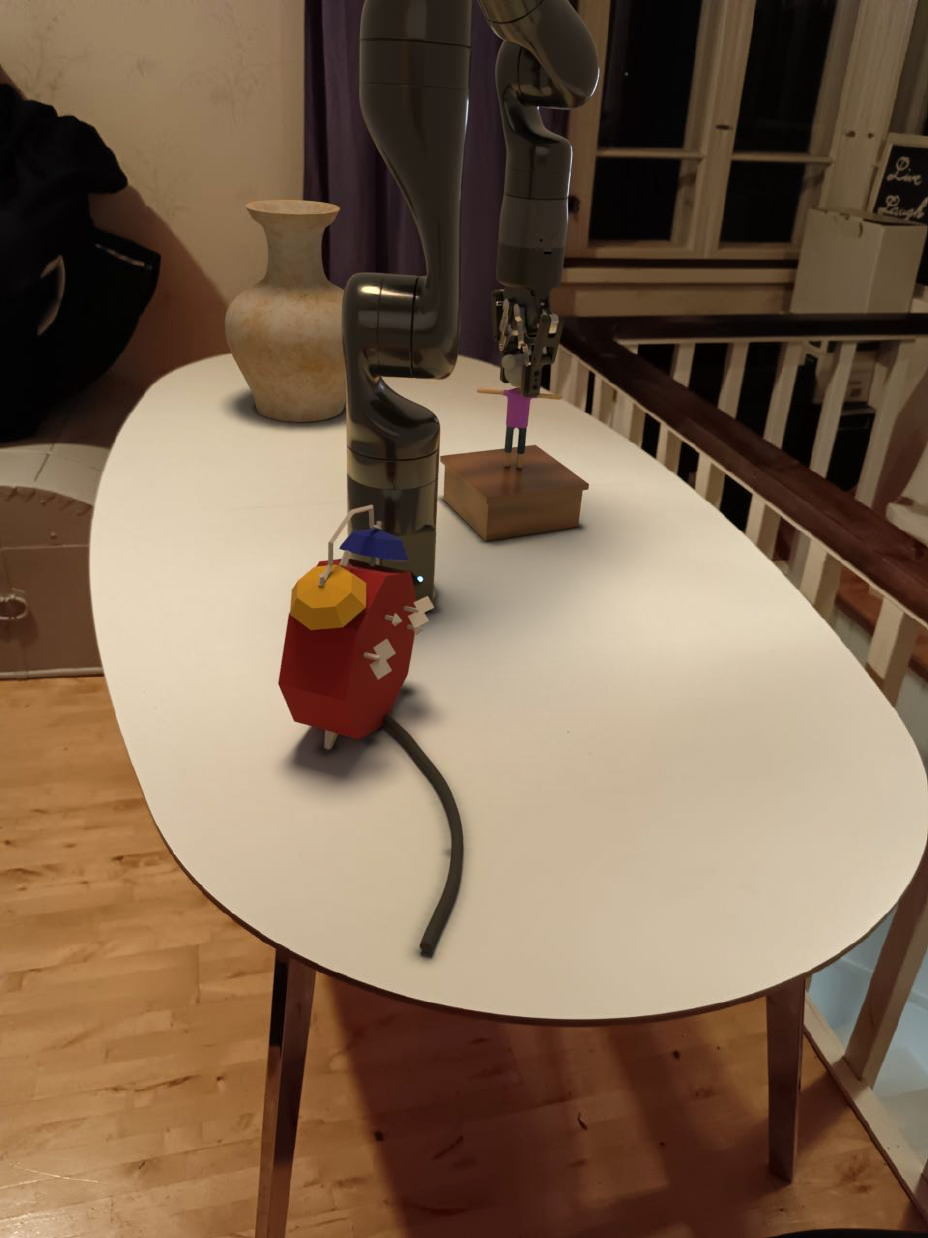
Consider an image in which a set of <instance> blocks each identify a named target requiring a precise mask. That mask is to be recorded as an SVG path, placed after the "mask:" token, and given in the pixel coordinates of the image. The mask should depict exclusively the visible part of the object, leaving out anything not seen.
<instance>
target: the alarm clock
mask: <svg viewBox="0 0 928 1238" xmlns="http://www.w3.org/2000/svg"><path fill="white" fill-rule="evenodd" d="M368 510H369V526H370V528H371V529H368V530H356V531H352V532H351V534H350V535H349V536H348V537H347V536H346V538H345V539H344V541H343V542H342V543H341V545H340V546H339V548H338V550H341V551H343V554H342V557H341V558H337V559H335V558H334V544H335V542H336V540H338V538H339V536H340V534H341V533H342V531H343V530H344V529H345V527H347V523H348V521H349V520H350V518H351V517H352V515H353V514H357V513H361V512H365V511H368ZM381 524H382V522H380V521H377V525H374V508H373V505H368V506H364V507H360V508H356V509H352V510H351V511H350V512H349V513H348V514H347V513H346V515H345V517H344V518H343V521H341V523H340V524H339V526H338V527H337V529H336V530H335V532H334V534H333V535H332V536H331V538H330V539H329V541H328V542H327V546H328V547H327V559H326V560H319V561H318V562H317V564H316V566H313V568H311V569H310V570H309V571H308V572H307V573H306V572H305V574H304V575H302V576H301V577H300V578H298V580H297V581H296V583H295V584H294V586H293V587H292V589H291V596H290V608H289V612H288V615H287V616H288V617H287V622H286V630H285V636H284V641H283V649H282V656H281V661H280V662H281V663H280V668H279V676H278V682H277V685H278V687H279V690H280V692H281V694H282V696H283V699H284V701H285V703H286V707H287V708H288V710H289V713H290V716H291V718H292V720H293V723H299V724H302V725H306V726H307V727H308V726H309V727H312V728H316V729H320V730H324V744H323V745H324V746H323V747H324V749H326V750H332V748H333V746H334V745H335V743H336V740H337V738H338V736H339V735H341V736H345V737H348V738H351V739H356V740H360V739H363V738H364V737H365V736H368V735H370V733H373V732H374V731H376V730H377V729H379V728H381V727H383V726H385V724H384V723H383V718H384V715H385V714H386V713H388V714H389V715H390V714H391V711H392V710H393V707H394V705H395V703H396V700H397V698H398V697H399V694H400V692H401V690H402V687H404V686H403V685H404V684H405V681H406V679H407V677H408V675H409V670H410V665H411V659H412V654H413V649H414V648H413V647H414V643H415V636H416V635H418V634H420V633H421V632H423V631H424V629H423V628H422V627H421V626H422V625H424V624H426V623H428V622H429V621H430V620H429V618H428V617H427V615H426V612H429V611H431V610H430V609H432V608H433V609H434V608H435V606H434V603H433V604H432V602H431V601H430V599H429V597H428V596H426V597H424V598H422V599H420V600H418V601H416V596H415V591H414V586H413V581H412V576H411V572H408V571H404V570H399V569H395V568H390V567H386V566H381V565H377V564H375V560H376V558H380V559H386V560H400V561H409V559H408V556H407V553H406V551H405V548H404V545H403V543H402V540H401V539H400V538H398V537H395V536H393V535H391V534H389V533H387V532H384V531H382V530H381ZM351 553H354V554H358V555H363V556H369V557H371V561H370V563H368V562H363V561H359V560H354V559H350V555H351ZM433 609H432V610H433Z"/></svg>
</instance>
